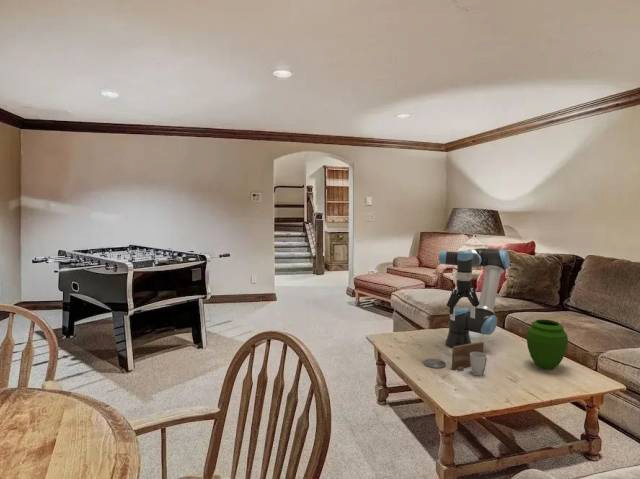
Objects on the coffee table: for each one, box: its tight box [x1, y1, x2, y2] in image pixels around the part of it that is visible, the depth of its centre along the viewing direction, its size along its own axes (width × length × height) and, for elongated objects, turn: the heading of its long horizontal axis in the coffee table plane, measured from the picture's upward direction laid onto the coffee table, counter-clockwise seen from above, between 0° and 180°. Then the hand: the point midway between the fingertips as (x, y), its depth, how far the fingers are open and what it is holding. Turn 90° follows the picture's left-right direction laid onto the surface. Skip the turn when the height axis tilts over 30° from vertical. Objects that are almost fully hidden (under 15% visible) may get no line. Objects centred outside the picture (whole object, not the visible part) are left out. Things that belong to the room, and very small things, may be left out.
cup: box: [470, 352, 488, 377], centre depth 207 cm, size 8×8×10 cm
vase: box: [525, 319, 569, 371], centre depth 214 cm, size 20×20×24 cm
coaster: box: [422, 358, 447, 370], centre depth 220 cm, size 12×12×1 cm
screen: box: [450, 341, 485, 372], centre depth 216 cm, size 6×20×12 cm, turn 114°
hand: (462, 318), depth 217 cm, fingers open, 13 cm apart
